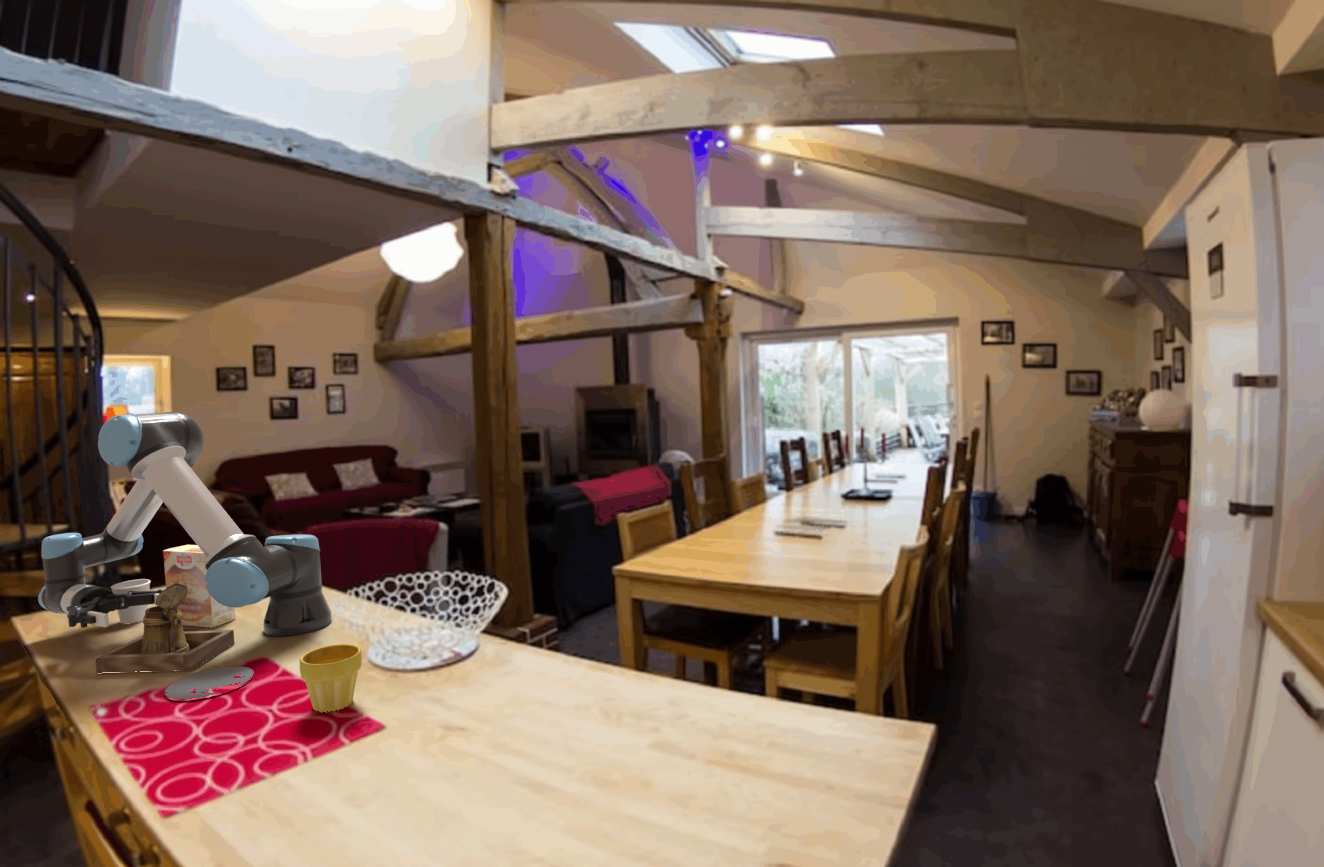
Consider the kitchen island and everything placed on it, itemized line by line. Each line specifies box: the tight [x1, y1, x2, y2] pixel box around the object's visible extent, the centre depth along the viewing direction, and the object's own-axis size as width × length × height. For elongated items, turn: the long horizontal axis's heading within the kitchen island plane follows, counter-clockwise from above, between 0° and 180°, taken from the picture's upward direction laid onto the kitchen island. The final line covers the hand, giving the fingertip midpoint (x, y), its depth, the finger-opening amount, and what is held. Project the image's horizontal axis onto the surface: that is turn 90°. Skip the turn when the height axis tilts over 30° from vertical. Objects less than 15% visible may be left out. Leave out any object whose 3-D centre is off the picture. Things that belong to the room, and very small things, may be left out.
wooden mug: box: [141, 584, 190, 654], centre depth 152 cm, size 9×14×18 cm, turn 55°
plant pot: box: [299, 643, 363, 713], centre depth 126 cm, size 10×10×10 cm
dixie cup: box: [110, 578, 151, 624], centre depth 180 cm, size 8×8×10 cm
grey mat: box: [164, 665, 255, 699], centre depth 137 cm, size 15×15×1 cm
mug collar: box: [94, 629, 236, 674], centre depth 152 cm, size 20×15×4 cm
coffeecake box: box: [162, 544, 237, 629], centre depth 176 cm, size 15×7×20 cm, turn 73°
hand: (141, 610), depth 155 cm, fingers open, 13 cm apart
